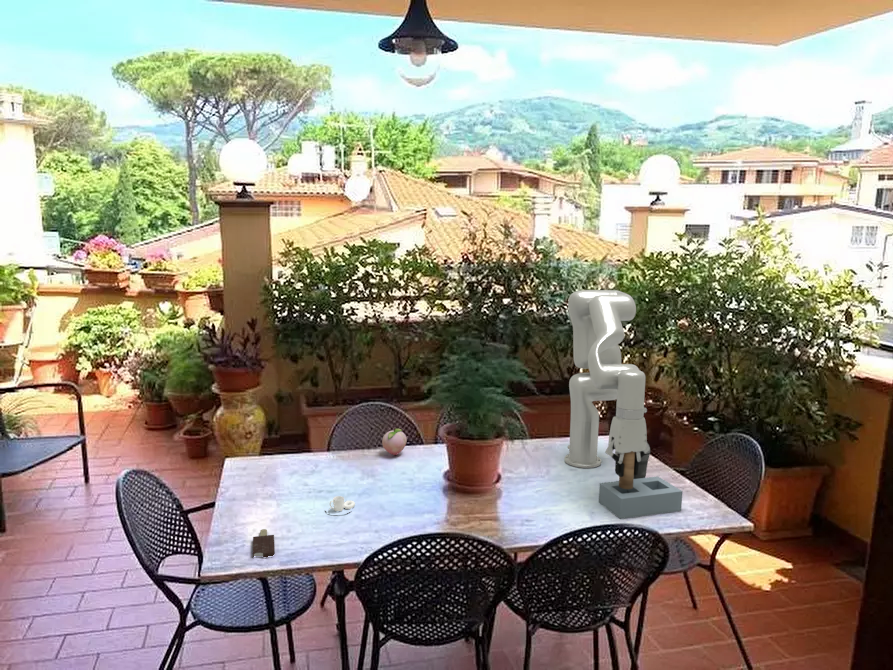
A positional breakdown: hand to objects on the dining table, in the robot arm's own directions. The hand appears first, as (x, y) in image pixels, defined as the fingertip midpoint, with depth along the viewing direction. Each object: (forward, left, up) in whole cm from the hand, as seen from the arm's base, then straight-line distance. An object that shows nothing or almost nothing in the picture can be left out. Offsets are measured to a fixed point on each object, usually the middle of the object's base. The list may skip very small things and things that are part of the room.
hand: (626, 473), depth 193 cm
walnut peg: (0, 0, -4) cm, 4 cm away
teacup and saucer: (-20, -78, -11) cm, 81 cm away
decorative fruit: (-63, -55, -11) cm, 84 cm away
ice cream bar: (-6, -101, -11) cm, 102 cm away
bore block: (0, +5, -11) cm, 12 cm away
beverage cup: (-14, +13, -11) cm, 22 cm away
